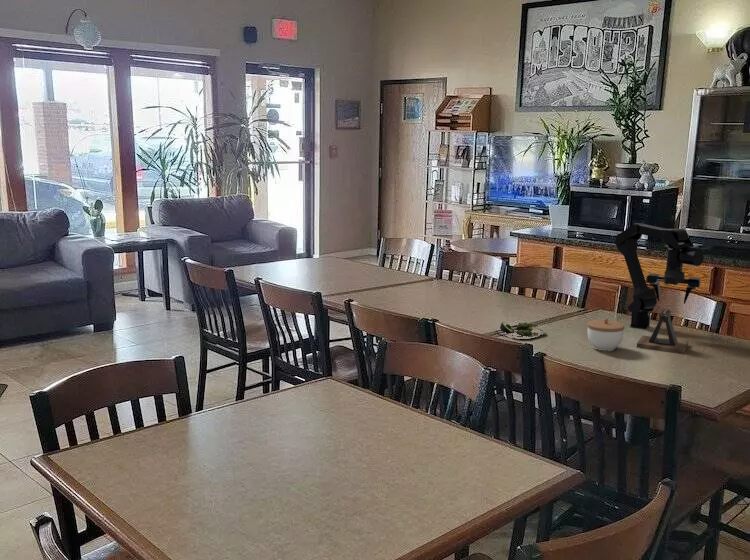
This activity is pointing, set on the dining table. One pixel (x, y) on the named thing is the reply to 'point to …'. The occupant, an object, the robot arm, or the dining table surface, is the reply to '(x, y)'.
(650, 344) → the walnut board
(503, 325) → the salad plate
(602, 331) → the lidded bowl
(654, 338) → the gray triangular stand
